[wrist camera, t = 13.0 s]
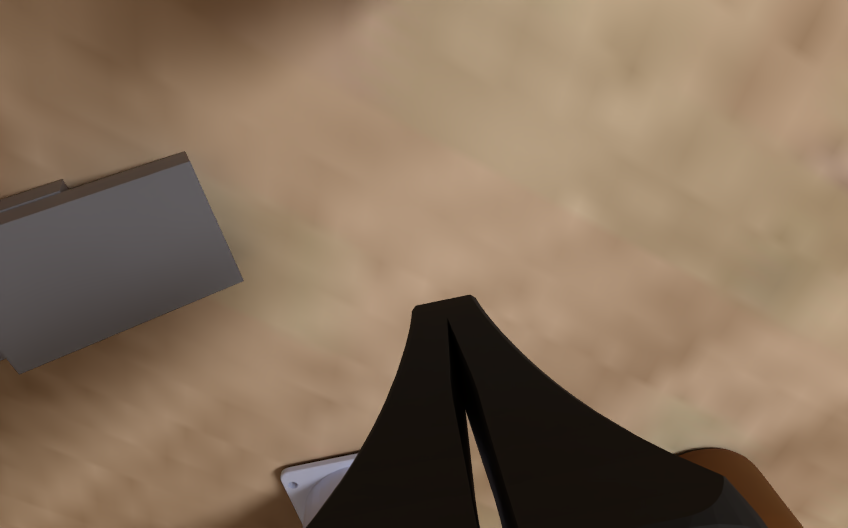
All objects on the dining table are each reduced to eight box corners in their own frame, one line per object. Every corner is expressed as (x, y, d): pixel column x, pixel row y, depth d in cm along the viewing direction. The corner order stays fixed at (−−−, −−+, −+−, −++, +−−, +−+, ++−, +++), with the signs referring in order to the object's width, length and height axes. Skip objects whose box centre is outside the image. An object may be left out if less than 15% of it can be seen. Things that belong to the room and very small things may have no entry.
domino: (243, 280, 21) (19, 374, 19) (236, 265, 22) (25, 351, 20) (189, 161, 19) (-79, 251, 16) (184, 151, 20) (-64, 233, 17)
